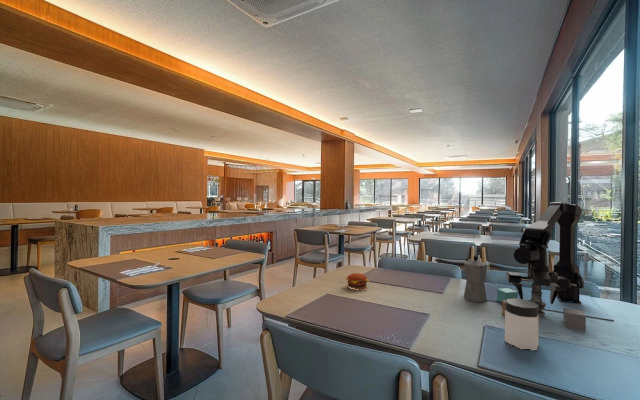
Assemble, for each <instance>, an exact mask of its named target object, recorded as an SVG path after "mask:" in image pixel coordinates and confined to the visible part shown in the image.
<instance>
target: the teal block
mask: <svg viewBox="0 0 640 400" xmlns="http://www.w3.org/2000/svg"><path fill="white" fill-rule="evenodd" d="M496 292H497V294H496V301H497V300H498V302H499V303H501V304H502V300H507V299H519V298H518V297H519V294H518V291H516V290H514V289H511V288H510V287H505V288H497V289H496Z"/></svg>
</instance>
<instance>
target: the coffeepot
mask: <svg viewBox="0 0 640 400" xmlns="http://www.w3.org/2000/svg"><path fill="white" fill-rule="evenodd" d="M463 266H464V273H465V279H466V280H465V281H466V282H465V286H464V292H463V298H464V299H465V300H467V301H470V302H475V303H485V302H487V301H488V299H487V292H486V286H485V280H486V276H487V270H488V263H487V262H483V261H481V260H478V256H476V255H474V256H473V259H471V258H469V257H468V258H466V259H465V261H464V260H463Z"/></svg>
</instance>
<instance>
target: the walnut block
mask: <svg viewBox="0 0 640 400" xmlns="http://www.w3.org/2000/svg"><path fill="white" fill-rule="evenodd" d="M505 303H506V300H502V303H501V307H502V309H501V312H502V313H501V314H502V315H503V316H505V310H506V307H505Z"/></svg>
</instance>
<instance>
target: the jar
mask: <svg viewBox="0 0 640 400" xmlns="http://www.w3.org/2000/svg"><path fill="white" fill-rule="evenodd" d="M528 300H529V299H524V298H523V299H520V298H518V299H507V300H506V303H505V307H506V310H505V315H504V342H505V341H506V342H508V343H509V344H508V343H507V344H508V345H510V344H511V345H510V346H512V345H514V346H516V347H518V348H520V349H519V350H522V349H532V350H531V351H535V350H537V351H538V347H539V344H540V343H539V342H540V341H539V340H540V338H539V337H540V335H539V334H540V330H539V328H540V318H539V317H540V315H539V306H538V305H537V304H536V303H534V302H531V301H528ZM506 342H505V343H506ZM514 346H513V347H514ZM516 347H515V348H516ZM518 348H517V349H518Z"/></svg>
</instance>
